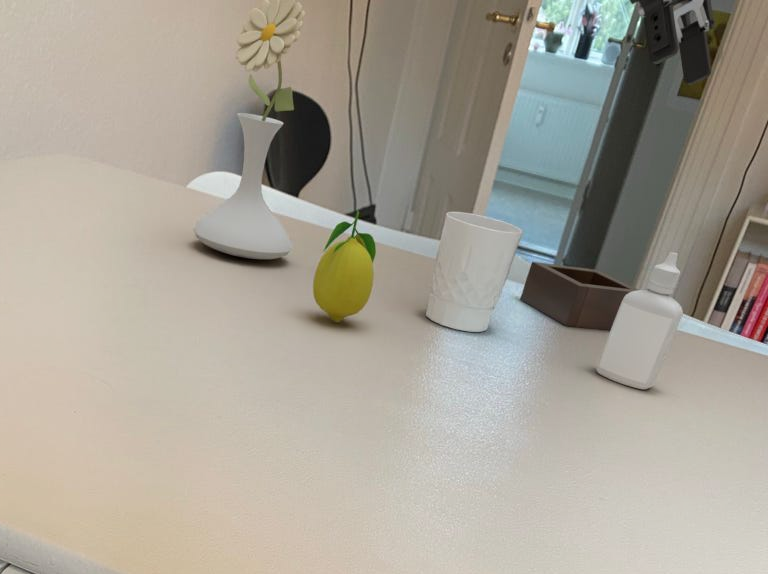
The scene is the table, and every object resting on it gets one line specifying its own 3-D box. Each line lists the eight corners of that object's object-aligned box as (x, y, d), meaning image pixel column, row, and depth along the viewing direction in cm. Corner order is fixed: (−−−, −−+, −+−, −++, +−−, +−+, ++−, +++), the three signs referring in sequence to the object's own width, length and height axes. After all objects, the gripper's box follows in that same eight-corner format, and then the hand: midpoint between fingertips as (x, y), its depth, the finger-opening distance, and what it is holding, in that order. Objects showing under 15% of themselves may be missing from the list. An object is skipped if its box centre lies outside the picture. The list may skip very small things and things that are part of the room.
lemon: (308, 328, 84) (330, 212, 78) (294, 309, 89) (315, 198, 83) (375, 336, 86) (402, 224, 80) (358, 317, 90) (383, 210, 85)
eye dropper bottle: (624, 390, 87) (677, 259, 80) (588, 368, 91) (636, 242, 84) (658, 391, 88) (713, 263, 82) (621, 370, 92) (670, 247, 86)
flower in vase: (181, 235, 106) (209, -25, 92) (272, 246, 110) (312, -1, 96) (208, 266, 97) (245, -19, 83) (307, 277, 101) (358, 7, 87)
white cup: (409, 306, 98) (434, 207, 92) (473, 314, 101) (501, 218, 95) (437, 330, 92) (466, 225, 86) (504, 338, 95) (537, 236, 89)
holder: (584, 306, 116) (597, 269, 113) (632, 332, 108) (647, 293, 106) (519, 299, 112) (531, 261, 109) (565, 326, 104) (579, 285, 102)
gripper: (668, -194, 70) (699, 27, 72) (725, -126, 80) (751, 66, 82) (576, -131, 75) (608, 74, 77) (641, -74, 85) (668, 105, 87)
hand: (682, 70), depth 80 cm, fingers open, 8 cm apart
